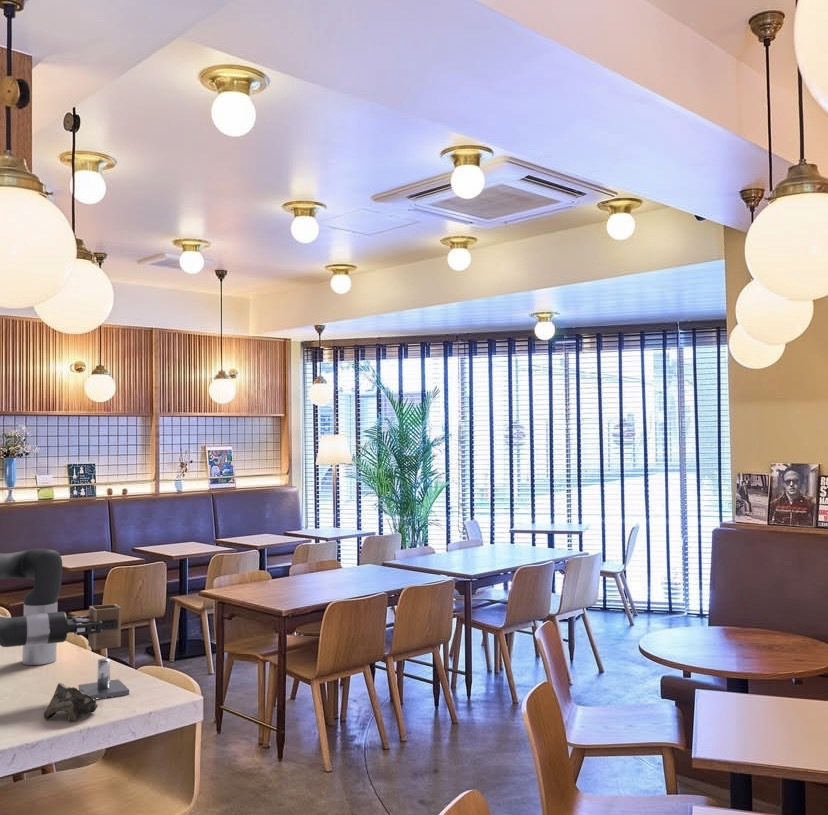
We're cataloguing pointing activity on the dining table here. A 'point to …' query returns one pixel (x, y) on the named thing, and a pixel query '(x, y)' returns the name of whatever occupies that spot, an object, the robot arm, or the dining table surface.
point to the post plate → (104, 692)
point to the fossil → (70, 703)
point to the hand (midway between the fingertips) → (114, 621)
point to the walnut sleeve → (109, 636)
